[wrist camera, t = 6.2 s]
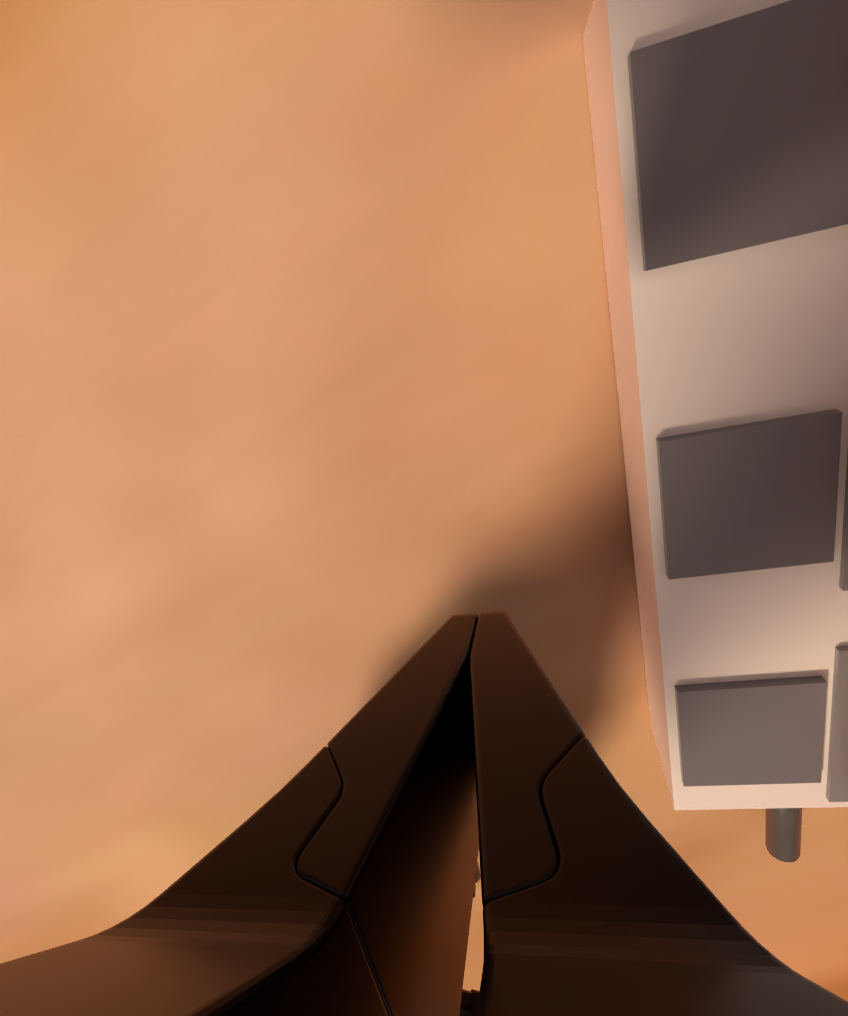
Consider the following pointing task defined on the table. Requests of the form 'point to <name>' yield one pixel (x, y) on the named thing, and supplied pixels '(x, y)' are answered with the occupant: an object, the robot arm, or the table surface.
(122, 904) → the table surface
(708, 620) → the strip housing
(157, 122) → the table surface
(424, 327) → the table surface
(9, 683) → the table surface
